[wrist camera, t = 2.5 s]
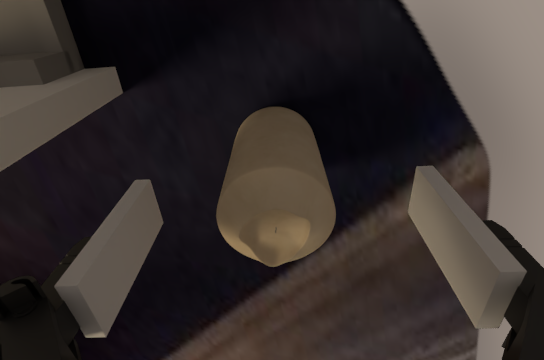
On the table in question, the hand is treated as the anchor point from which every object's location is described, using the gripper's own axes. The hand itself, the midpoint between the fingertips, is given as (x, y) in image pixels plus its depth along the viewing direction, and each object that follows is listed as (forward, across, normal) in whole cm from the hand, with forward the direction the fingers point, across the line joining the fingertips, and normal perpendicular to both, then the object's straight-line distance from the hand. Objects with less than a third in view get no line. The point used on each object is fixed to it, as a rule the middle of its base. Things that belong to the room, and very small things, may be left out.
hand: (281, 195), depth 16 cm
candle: (+7, 0, 0) cm, 7 cm away
